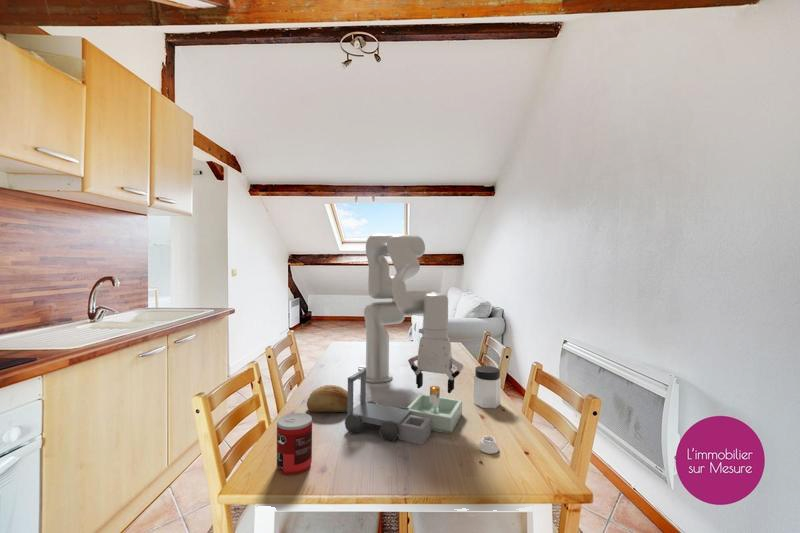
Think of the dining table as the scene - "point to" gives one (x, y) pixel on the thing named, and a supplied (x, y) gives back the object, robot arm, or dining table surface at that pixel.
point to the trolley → (384, 417)
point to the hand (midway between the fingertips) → (434, 389)
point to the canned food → (294, 443)
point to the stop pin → (434, 399)
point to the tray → (447, 412)
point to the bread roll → (328, 399)
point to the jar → (487, 386)
